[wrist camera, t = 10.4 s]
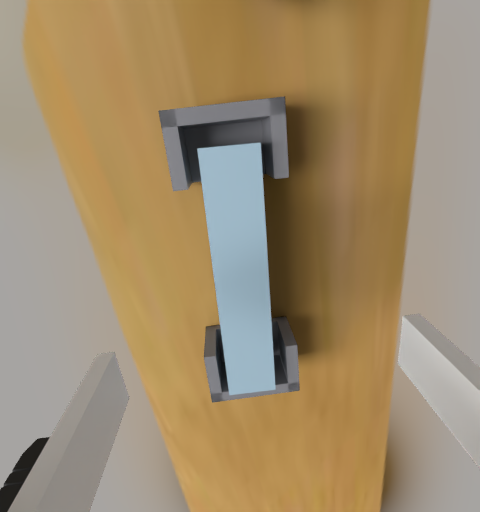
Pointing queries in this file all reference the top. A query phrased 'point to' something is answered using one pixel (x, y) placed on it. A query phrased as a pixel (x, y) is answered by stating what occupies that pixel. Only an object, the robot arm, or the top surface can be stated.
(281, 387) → the end caps
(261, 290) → the slat
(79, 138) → the top surface
